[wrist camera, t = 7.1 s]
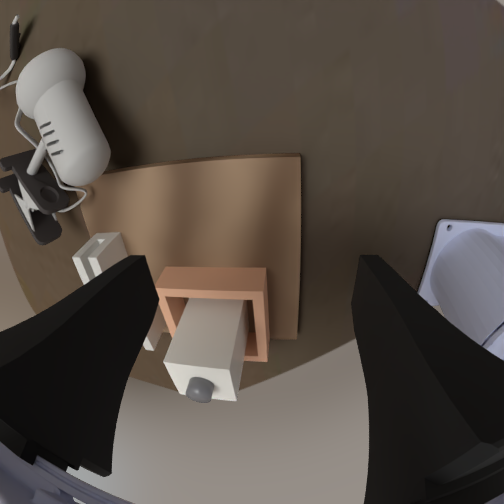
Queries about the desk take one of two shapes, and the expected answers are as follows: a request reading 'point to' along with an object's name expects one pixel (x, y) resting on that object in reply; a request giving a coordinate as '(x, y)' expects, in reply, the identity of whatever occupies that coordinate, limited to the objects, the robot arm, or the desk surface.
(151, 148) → the desk surface
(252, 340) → the frame
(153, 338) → the clips
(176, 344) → the connector plug
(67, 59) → the clip-on lamp
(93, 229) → the board
